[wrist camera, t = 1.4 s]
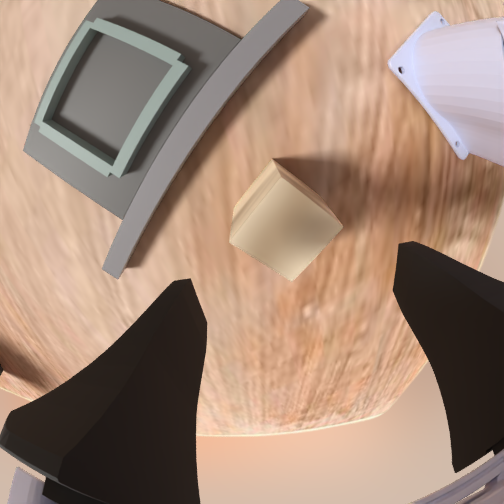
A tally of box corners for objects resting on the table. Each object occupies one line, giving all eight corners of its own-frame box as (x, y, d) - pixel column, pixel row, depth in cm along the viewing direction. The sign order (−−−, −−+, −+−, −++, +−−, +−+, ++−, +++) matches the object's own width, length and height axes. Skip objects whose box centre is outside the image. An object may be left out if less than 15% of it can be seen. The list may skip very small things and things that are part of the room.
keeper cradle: (241, 41, 12) (240, 34, 11) (124, 217, 18) (116, 226, 16) (112, -13, 9) (102, -20, 8) (26, 149, 14) (14, 153, 13)
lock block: (319, 195, 17) (343, 226, 13) (281, 239, 19) (291, 281, 14) (271, 158, 16) (281, 177, 12) (233, 207, 17) (229, 242, 13)
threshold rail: (304, 15, 11) (309, 7, 10) (125, 268, 20) (118, 279, 18) (284, 2, 11) (287, -7, 9) (109, 258, 19) (101, 269, 18)
